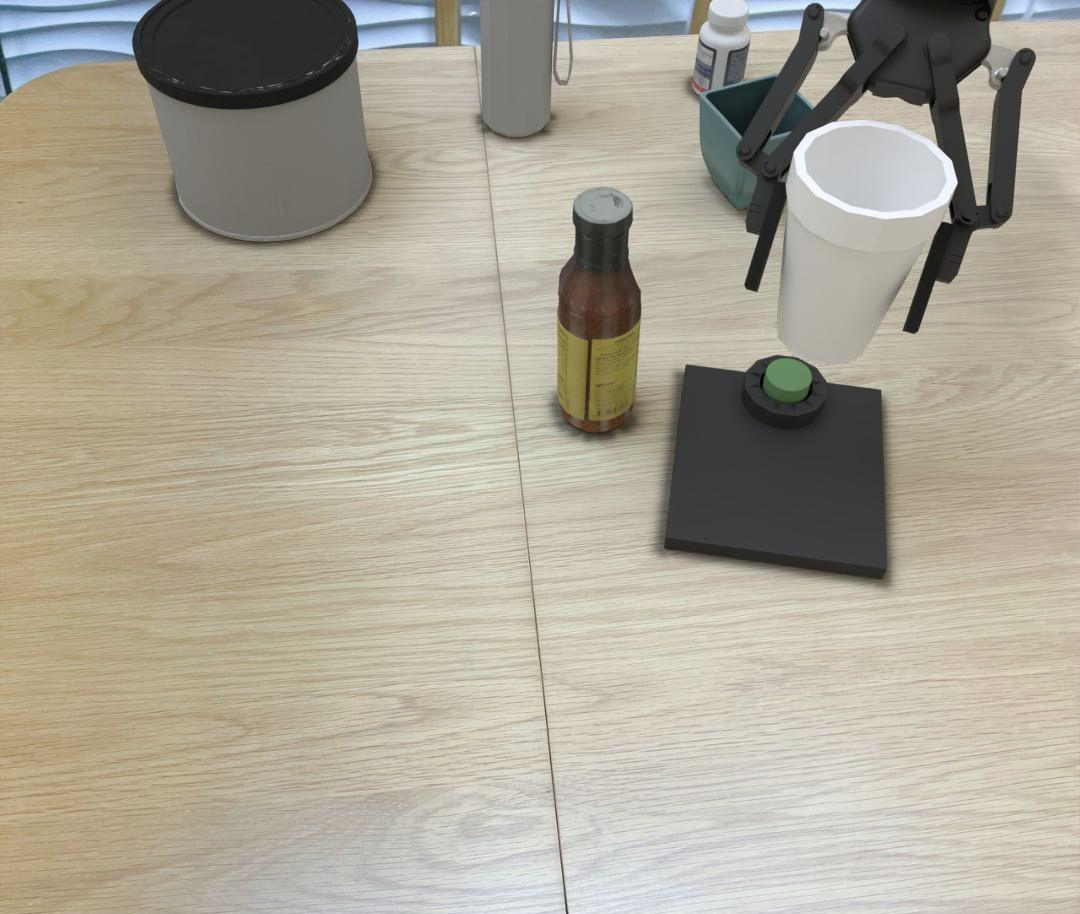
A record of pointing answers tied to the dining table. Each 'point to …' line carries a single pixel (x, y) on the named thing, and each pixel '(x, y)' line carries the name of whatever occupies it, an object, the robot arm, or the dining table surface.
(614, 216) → the sauce bottle
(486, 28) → the water bottle
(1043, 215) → the dining table surface
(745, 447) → the scale
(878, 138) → the foam cup
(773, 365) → the tare button
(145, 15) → the container
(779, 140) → the flower pot
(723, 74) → the pill bottle
